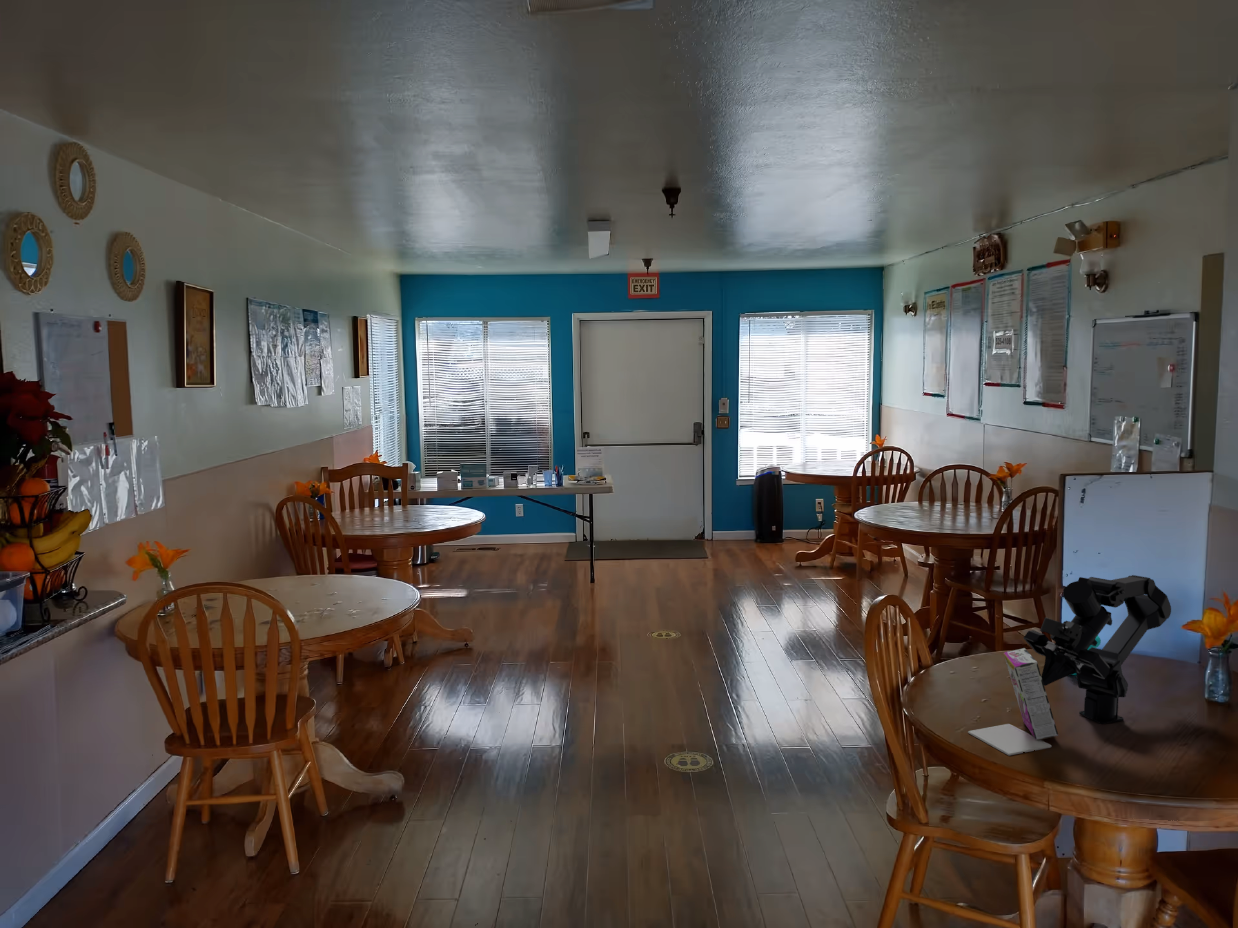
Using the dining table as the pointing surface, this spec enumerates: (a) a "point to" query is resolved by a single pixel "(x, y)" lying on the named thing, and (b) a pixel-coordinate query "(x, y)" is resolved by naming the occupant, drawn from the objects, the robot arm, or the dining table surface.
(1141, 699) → the dining table surface
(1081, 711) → the robot arm
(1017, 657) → the candy bar box
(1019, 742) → the mat
